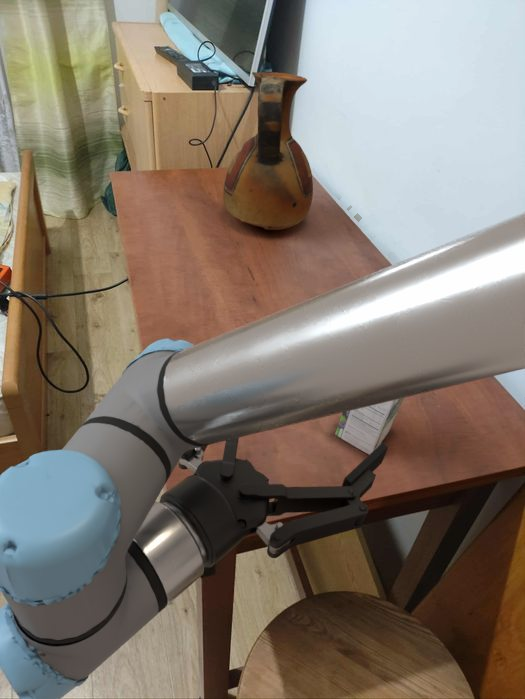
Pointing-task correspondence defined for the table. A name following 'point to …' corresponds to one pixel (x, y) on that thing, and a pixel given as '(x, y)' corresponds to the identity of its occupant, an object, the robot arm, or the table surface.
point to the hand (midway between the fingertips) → (332, 415)
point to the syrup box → (368, 425)
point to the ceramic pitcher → (271, 163)
